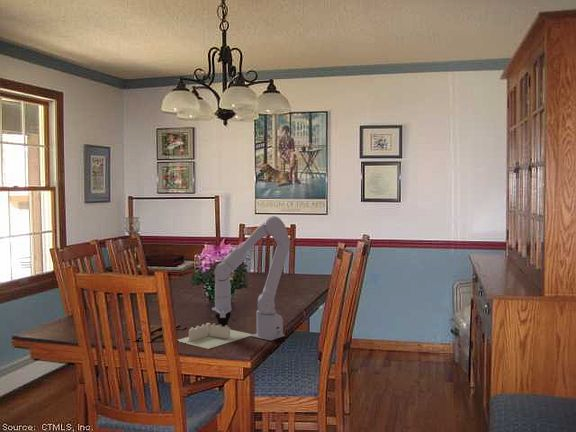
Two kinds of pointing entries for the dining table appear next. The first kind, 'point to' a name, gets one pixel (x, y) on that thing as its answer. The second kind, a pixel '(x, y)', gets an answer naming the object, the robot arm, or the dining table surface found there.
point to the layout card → (215, 340)
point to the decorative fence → (159, 332)
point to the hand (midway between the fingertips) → (223, 332)
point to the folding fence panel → (220, 331)
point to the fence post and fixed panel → (199, 332)
